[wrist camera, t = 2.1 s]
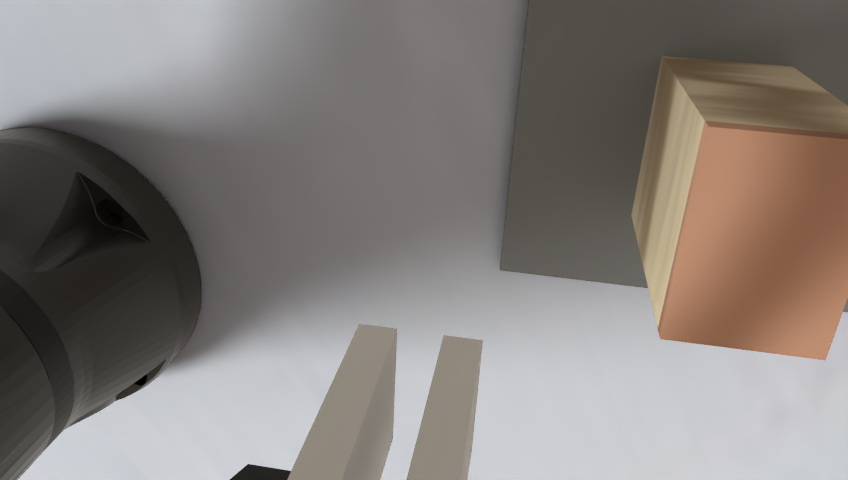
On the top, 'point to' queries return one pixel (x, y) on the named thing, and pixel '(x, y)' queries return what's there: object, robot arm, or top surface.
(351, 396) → the robot arm
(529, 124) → the mat
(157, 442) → the top surface
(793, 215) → the flip block
